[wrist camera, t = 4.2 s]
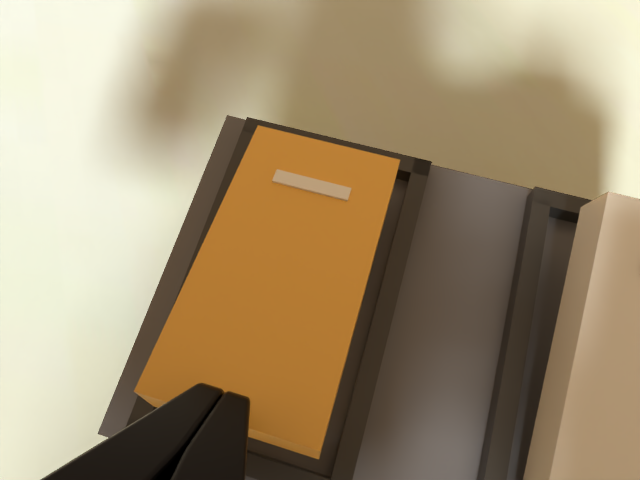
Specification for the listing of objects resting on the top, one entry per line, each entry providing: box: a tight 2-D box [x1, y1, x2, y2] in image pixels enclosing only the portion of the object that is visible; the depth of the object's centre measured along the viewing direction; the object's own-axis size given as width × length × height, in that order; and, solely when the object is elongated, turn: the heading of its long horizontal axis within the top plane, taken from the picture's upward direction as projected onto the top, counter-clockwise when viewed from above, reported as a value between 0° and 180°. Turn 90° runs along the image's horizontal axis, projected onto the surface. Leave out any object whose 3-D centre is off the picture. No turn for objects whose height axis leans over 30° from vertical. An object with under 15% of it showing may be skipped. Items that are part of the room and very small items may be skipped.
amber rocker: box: [134, 125, 400, 459], centre depth 10 cm, size 6×3×1 cm, turn 164°
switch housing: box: [98, 115, 593, 480], centre depth 15 cm, size 8×13×8 cm, turn 74°
